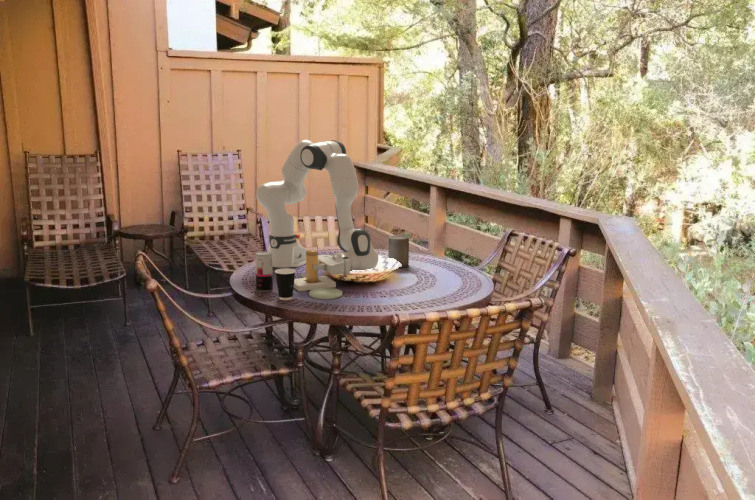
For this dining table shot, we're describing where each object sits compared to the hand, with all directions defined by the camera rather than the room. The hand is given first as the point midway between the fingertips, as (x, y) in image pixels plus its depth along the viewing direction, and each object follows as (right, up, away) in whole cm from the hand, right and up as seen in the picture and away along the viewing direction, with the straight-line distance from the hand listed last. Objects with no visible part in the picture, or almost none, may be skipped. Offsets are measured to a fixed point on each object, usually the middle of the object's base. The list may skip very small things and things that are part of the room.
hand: (310, 265), depth 274 cm
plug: (+1, -7, +2) cm, 8 cm away
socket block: (-1, -8, +6) cm, 9 cm away
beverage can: (-18, -10, -5) cm, 21 cm away
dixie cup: (-8, -13, -17) cm, 22 cm away
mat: (+7, -11, -11) cm, 17 cm away
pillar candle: (+37, -1, +40) cm, 55 cm away
